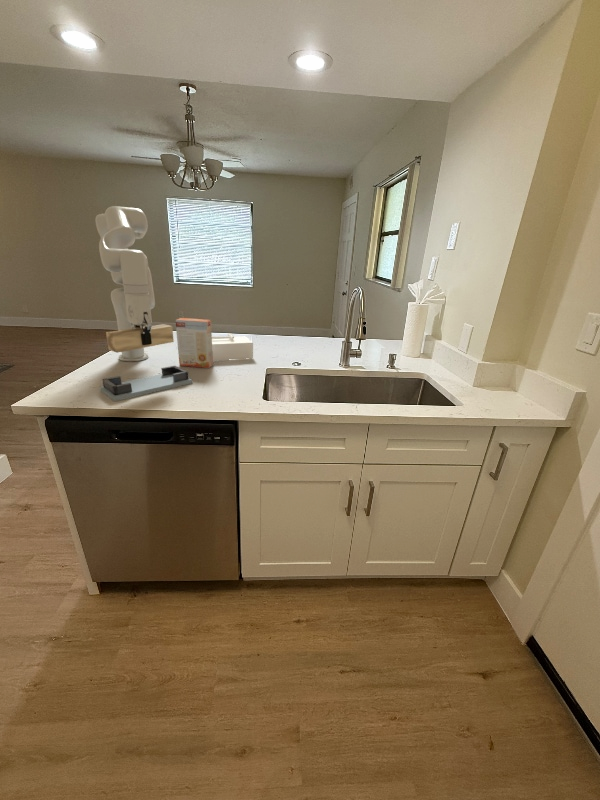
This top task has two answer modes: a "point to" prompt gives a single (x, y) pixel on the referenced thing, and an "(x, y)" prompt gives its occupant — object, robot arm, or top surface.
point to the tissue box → (231, 348)
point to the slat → (138, 338)
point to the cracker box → (194, 342)
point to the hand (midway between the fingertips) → (143, 342)
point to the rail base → (145, 383)
